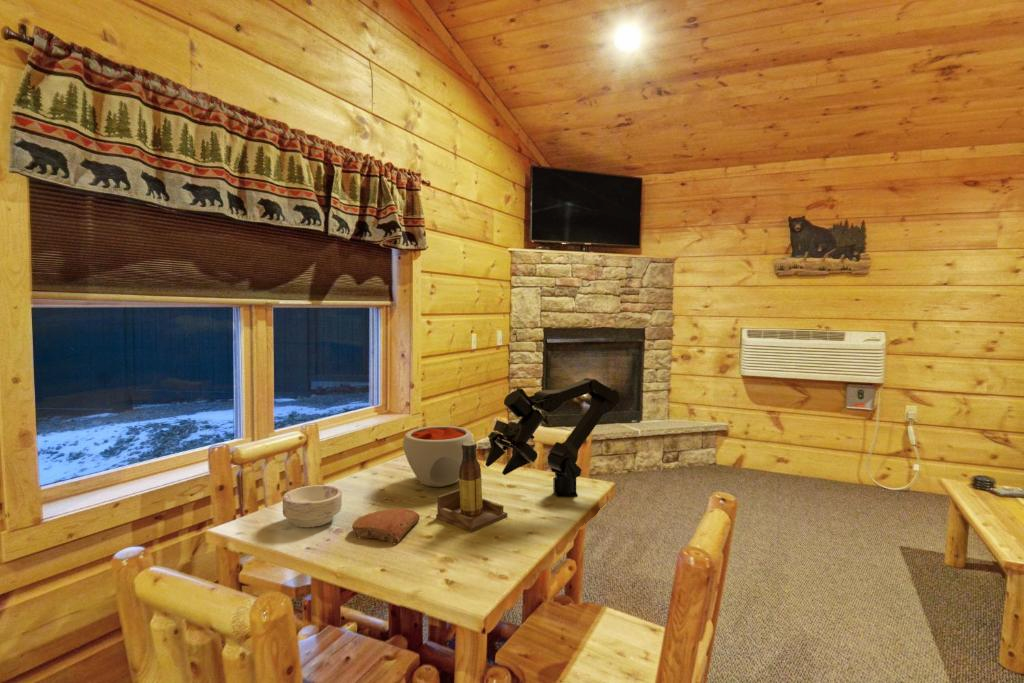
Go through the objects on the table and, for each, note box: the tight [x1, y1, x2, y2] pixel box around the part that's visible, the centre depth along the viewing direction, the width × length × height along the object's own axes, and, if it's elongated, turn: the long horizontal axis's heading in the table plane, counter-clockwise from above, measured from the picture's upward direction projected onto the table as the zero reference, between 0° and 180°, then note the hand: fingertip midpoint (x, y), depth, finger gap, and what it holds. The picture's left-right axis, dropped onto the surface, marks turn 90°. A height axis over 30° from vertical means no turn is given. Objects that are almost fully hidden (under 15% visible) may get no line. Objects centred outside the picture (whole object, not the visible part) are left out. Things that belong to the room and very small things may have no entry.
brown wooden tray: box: [435, 488, 508, 533], centre depth 150 cm, size 14×14×6 cm
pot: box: [402, 425, 475, 488], centre depth 179 cm, size 24×24×18 cm
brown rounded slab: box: [351, 508, 420, 544], centre depth 142 cm, size 15×6×15 cm
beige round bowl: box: [282, 484, 343, 528], centre depth 147 cm, size 15×15×8 cm
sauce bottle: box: [458, 441, 483, 516], centre depth 150 cm, size 7×6×20 cm
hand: (494, 469), depth 154 cm, fingers open, 9 cm apart
